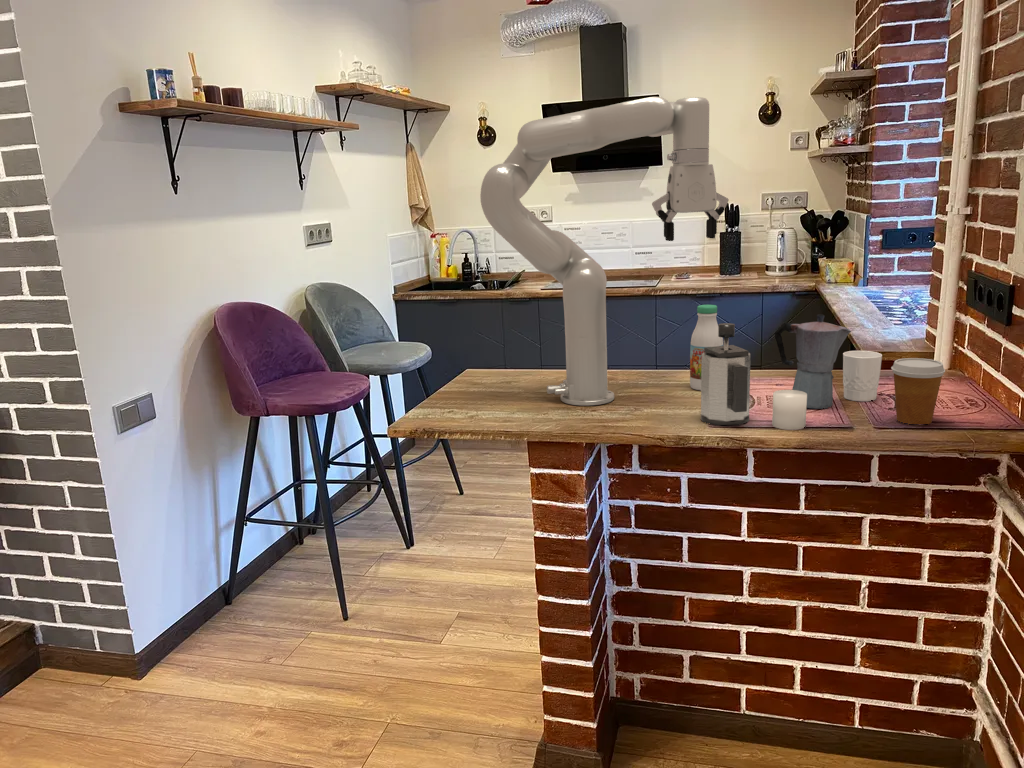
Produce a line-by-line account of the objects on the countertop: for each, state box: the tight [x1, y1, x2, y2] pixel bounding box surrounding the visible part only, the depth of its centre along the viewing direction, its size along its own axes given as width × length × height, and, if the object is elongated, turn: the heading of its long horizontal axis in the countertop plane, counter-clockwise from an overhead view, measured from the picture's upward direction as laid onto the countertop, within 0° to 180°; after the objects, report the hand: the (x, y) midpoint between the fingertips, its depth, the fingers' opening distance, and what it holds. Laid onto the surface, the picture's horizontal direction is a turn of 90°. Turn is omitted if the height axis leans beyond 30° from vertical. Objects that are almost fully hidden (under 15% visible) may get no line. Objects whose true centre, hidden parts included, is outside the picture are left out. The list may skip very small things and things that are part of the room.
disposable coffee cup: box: [890, 357, 946, 425], centre depth 158 cm, size 10×10×12 cm
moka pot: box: [774, 313, 852, 410], centre depth 172 cm, size 10×15×20 cm, turn 78°
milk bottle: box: [689, 304, 724, 391], centre depth 191 cm, size 8×8×20 cm
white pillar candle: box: [771, 389, 807, 431], centre depth 160 cm, size 6×6×7 cm
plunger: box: [717, 322, 736, 350], centre depth 164 cm, size 7×7×14 cm
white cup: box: [842, 350, 883, 402], centre depth 177 cm, size 8×8×10 cm
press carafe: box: [700, 344, 752, 426], centre depth 164 cm, size 10×12×15 cm
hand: (690, 239), depth 175 cm, fingers open, 9 cm apart
